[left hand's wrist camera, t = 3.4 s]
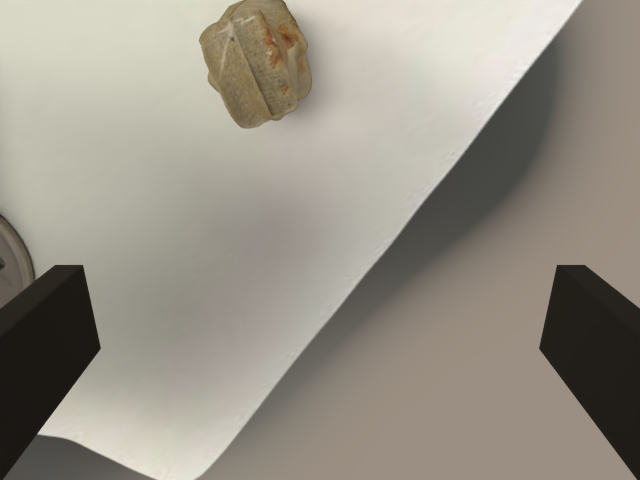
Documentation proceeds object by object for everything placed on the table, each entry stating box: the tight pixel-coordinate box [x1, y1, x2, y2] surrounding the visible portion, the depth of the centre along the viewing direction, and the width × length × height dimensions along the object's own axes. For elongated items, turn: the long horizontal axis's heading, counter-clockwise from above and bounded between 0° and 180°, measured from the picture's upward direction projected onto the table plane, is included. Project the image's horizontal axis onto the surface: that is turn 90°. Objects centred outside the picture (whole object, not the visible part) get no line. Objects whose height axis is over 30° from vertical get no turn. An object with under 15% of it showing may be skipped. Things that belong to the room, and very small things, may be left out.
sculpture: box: [199, 0, 312, 128], centre depth 27 cm, size 6×7×15 cm
